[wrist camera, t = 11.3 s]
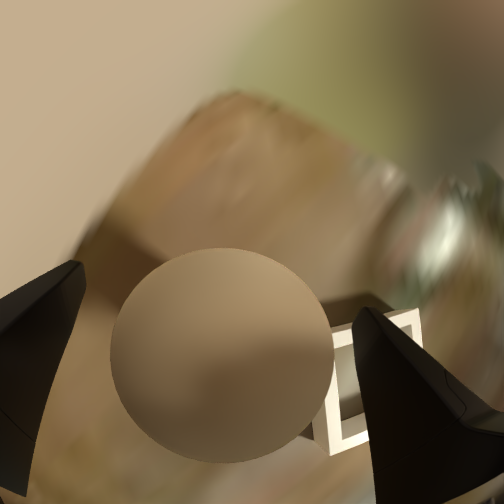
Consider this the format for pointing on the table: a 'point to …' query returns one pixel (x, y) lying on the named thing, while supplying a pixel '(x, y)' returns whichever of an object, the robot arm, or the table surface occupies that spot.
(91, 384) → the table surface
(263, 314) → the peg
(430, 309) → the table surface
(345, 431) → the pocket
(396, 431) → the robot arm
